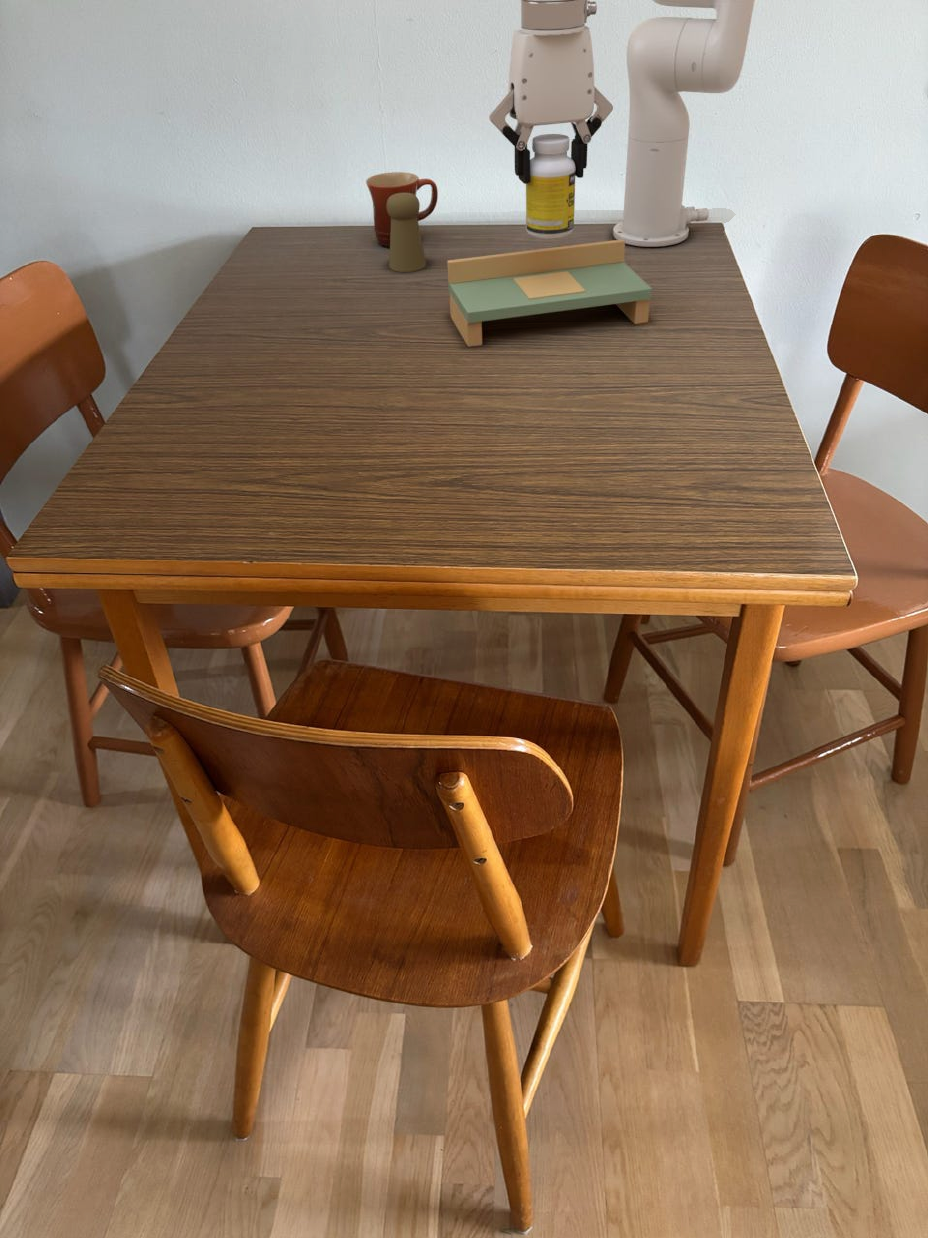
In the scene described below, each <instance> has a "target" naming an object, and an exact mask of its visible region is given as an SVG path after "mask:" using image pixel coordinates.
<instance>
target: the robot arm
mask: <svg viewBox="0 0 928 1238" xmlns="http://www.w3.org/2000/svg"><path fill="white" fill-rule="evenodd" d="M652 1H653V2H654V3H656V4H657V5H660V6H664V7H665V6H666V7H674V8H675V7H677V8H698V9H701V8H702V9H704V8H705V9H715V11H716V18H697V17H696V18H693V17H677V16H676V17H675V16H659V17H653V18H648V19H646V20H644V21H642V22H641V23H638V24H637V25H636V26H635V28H634V29H633V31H632V32H631V34H630V36H629V39H628V41H627V47H626V67H627V77H628V78H627V79H628V88H629V89H628V91H629V116H628V134H627V148H626V149H627V150H626V164H625V165H626V166H625V167H626V168H625V182H624V183H625V184H624V198H623V199H624V200H623V216H622V221H620V222H618V223H616V224H615V225H614V226H613V228H612V235H613V238H614V239H615V240H620V239H623V240H624V241H625V245H629V246H636V247H642V248H659V247H667V246H672V245H673V246H674V245H677V244H680V243H682V242H683V241H685V240H686V239H687V238H688V237H689V231H690V229H689V226H687V225H690V224H691V222H703V221H707V220H709V215H710V214H709V209H708V208H707V207H704V208H695V206H693V205H692V206H684V205H683V196H684V187H685V179H686V168H687V167H686V166H687V158H688V146H689V138H690V137H689V136H690V125H691V124H690V115H689V112H688V109H687V107H686V104H685V102H684V100H683V98H682V97H681V95H680V93H682V92H686V93H701V94H724V93H727V92H729V91H731V90H732V89H733V88H735V85H736V84H737V83H738V80H739V79H740V77H741V73H742V69H743V65H744V60H745V56H746V51H747V45H748V40H749V34H750V28H751V23H752V16H753V11H754V5H755V0H652ZM597 10H598V6H597V1H590V0H520V25H521V27H520V29H516V30H514V32H513V37H512V43H511V51H510V60H509V71H508V90H507V94H506V95H505V97H504V98H503V99H502V100H501V101H500V103H499V104H498V105H497V106H496V107H495V108H494V109H493V110H492V112H491V113H490V115H489V116H488V117H489V122H491V124H492V125H494V127H495V128H496V129H497V130H498V131H499V132H500V133H501V134H502V135H503V137H504V138H505V139H506V140H507V141H508V142H510V143H511V145H513V146H514V173H515V176H516V177H518V179H519V180H520V181H521V182H522V183H523V184H524V185H526V184H528V183H529V182H530V160H531V151H530V149H528V142H529V139H530V137H531V135H532V132H533V129H534V127H538V126H548V125H549V126H550V125H557V124H567V123H568V124H569V123H570V125H571V128H572V130H573V133H574V138H573V139H572V140H571V143H570V144H571V145H570V158H571V159H572V160H573V161H574V163H575V167H576V172H575V177H576V178H578V179H579V178H581V179H582V178H584V170H585V169H587V167H588V166H587V165H588V145H589V144H590V143H591V141H592V137H594V135H595V134H596V133H597V131H598V130H600V128H601V127H602V124H603V122H605V120H606V119H607V118H608V117H609V115H611V113H612V111H613V110H614V106H613V104H612V103H611V102H610V101H609V100H608V99H607V98H606V97H605V95H604V94H603V93H601V91H600V90H599V89H598V88H597V87H596V86H595V67H594V66H595V65H594V53H593V44H592V37H591V30H590V29H591V28H589V27H588V26H587V25H586V24H587V22H588V21H587V19H588V17H590V16H595V15H596V14H597ZM595 105H596V109H595ZM594 109H595V111H594ZM508 115H509V117H510V118H512V119H514V120H516V121H517V123H516V126H515V129H513V128H512V127H511V126H510V125H509V124H508V122H507V121H506V117H507V116H508Z"/></svg>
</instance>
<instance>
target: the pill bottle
mask: <svg viewBox="0 0 928 1238" xmlns="http://www.w3.org/2000/svg"><path fill="white" fill-rule="evenodd" d="M531 149H532V152H533V153H534V156H533V157H532V158H530V182H529V183H528V184H525V230H526V232H527V234H529V235H530V236H532V237H534V238H539V239H550V240H551V239H552V240H553V239H559V238H563V237H566V236H567V237H568V236H570V234H571V233H573V231H574V229H575V204H576V203H575V201H576V200H575V199H576V176H575V172H576V167H575V163H574V161H573V160H572V159H571V156H568V151H569V150H570V137H569V136H568V135H565V134H561V133H546V134H545V133H544V134H539V135H536V136H534V137H532V144H531Z"/></svg>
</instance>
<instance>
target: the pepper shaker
mask: <svg viewBox="0 0 928 1238" xmlns="http://www.w3.org/2000/svg"><path fill="white" fill-rule="evenodd" d="M386 206H387V212H388V214H389V215H390V217H391V236H390V248H389V265H388V267H389V269H390V270H392V271H394V272H400V273H410V272H417V271H420V270H422V269H424V268H425V267H426V266H427V261H426V260H427V259H426V256H425V251H424V250H425V249H424V245H423V240H422V235H421V231H420V225H419V221H418V220H417V215H418V213H419V212H420V207H421V206H420V201H419V198H418V197H417V194H416V195H414V194H412V193H397V194H393V195H392V196H390V197H389V198H388V201H387V205H386Z"/></svg>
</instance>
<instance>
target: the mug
mask: <svg viewBox="0 0 928 1238" xmlns="http://www.w3.org/2000/svg"><path fill="white" fill-rule="evenodd" d="M365 183H366V186H367V188H368V191H369V194H370V198H371V203H372V213H373V214H372V215H373V225H374V226H373V227H374V232H375V237H376V241H377V243H378V244H380V245H381V246H382V247H384V248H389V249H390V236H391V217H390V215H389V214H388V212H387V206H386V205H387V201H388V198H389V197H390V196H392V195H393V194H397V193H412V194H414V195H416V196H417V192H418V191H419V190H420V189H421V188H422V187H423V186H427V185H429V186H430V188H431V197H430V203H429V204H428V206H427V207H426V208H425V209H424V210H421V211H419V213H418V215H417V220H418V222H419V221H422V220H425V219H426V218H427V217H429V216H431V214H432V213H434V211H435V209H436V206H437V203H438V197H439V194H438V193H439V192H438V185H437V184H436V182H435V180H432V179H430V178H419V176H418V175H417V174H414V173H410V172H404V171H403V172H401V171H399V172H398V171H397V172H384V173H379V174H374V175H372V176H370V177H368V178H366V181H365Z"/></svg>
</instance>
